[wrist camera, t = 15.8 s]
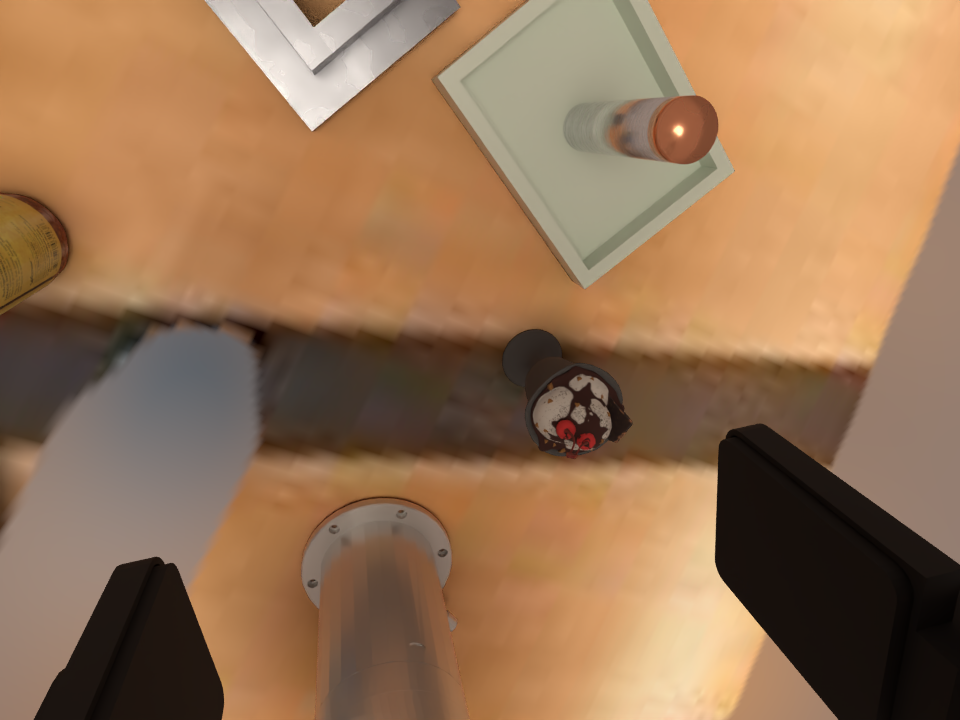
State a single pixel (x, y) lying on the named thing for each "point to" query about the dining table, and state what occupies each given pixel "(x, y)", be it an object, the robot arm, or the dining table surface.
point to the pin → (644, 128)
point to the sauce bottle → (28, 249)
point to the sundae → (564, 397)
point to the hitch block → (328, 45)
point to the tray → (540, 118)
